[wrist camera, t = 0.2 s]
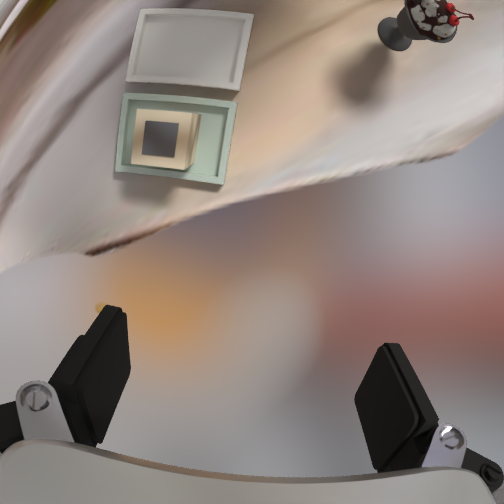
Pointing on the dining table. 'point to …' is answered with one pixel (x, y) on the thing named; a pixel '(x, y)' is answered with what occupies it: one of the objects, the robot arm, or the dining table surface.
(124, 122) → the tray sage
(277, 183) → the dining table surface
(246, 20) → the tray white
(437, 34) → the sundae
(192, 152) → the light wooden cube
